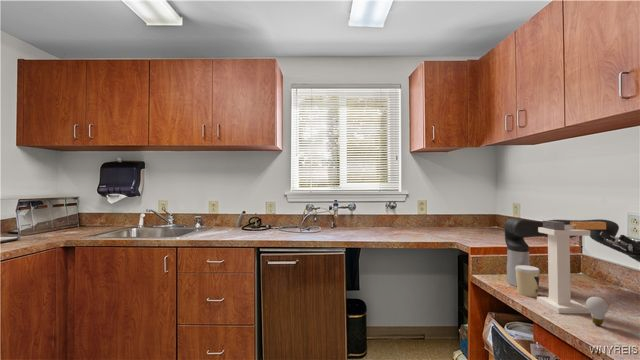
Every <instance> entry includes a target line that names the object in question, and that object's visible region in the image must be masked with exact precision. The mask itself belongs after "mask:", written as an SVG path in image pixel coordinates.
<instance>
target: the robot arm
mask: <svg viewBox="0 0 640 360" xmlns="http://www.w3.org/2000/svg"><path fill="white" fill-rule="evenodd" d="M547 221H557V222H564V225H570V222H606V229H584V230H590V236H589V237H590V238H591V239H592V240H593V241H595V242H596V243H598V244H600V245H603V246H605V247H608V248H610V249H612V250H614V251H617V252H619V253H622V254H624V255H626V256H628V257H629V258H630V259H633V260H635V261H636V262H638V263H640V240H636V239H633V238H632V239H631V238H630V237H628V236H627V235H625V234H620V235H619V237H618V236H617V234H618V233H619V229H620V226H619V224H618V223H616V222H614V221H612V220H609V219H608V220H607V219H584V220H583V219H581V220H579V219H574V220H573V219H549V220H547ZM538 227H543V221H536V220H529V219H524V218H518V217H510V218H508V219H507V220H506V221H505V223H504V240H505V244H506V248H507V249H506V251H507V254H506V255H507V263H506V282H507V284H508V285H510V286H513V287H514V286H515V287H517V280H516V269H515V267H516V266H517V265H527V266H530V246H529V245H528V243H527V242H526V241H525V238H535V237H537V238H538V237H545V238H548V234H545V233H540V232H538ZM576 237H577V236H570V239H572V238H576Z"/></svg>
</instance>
